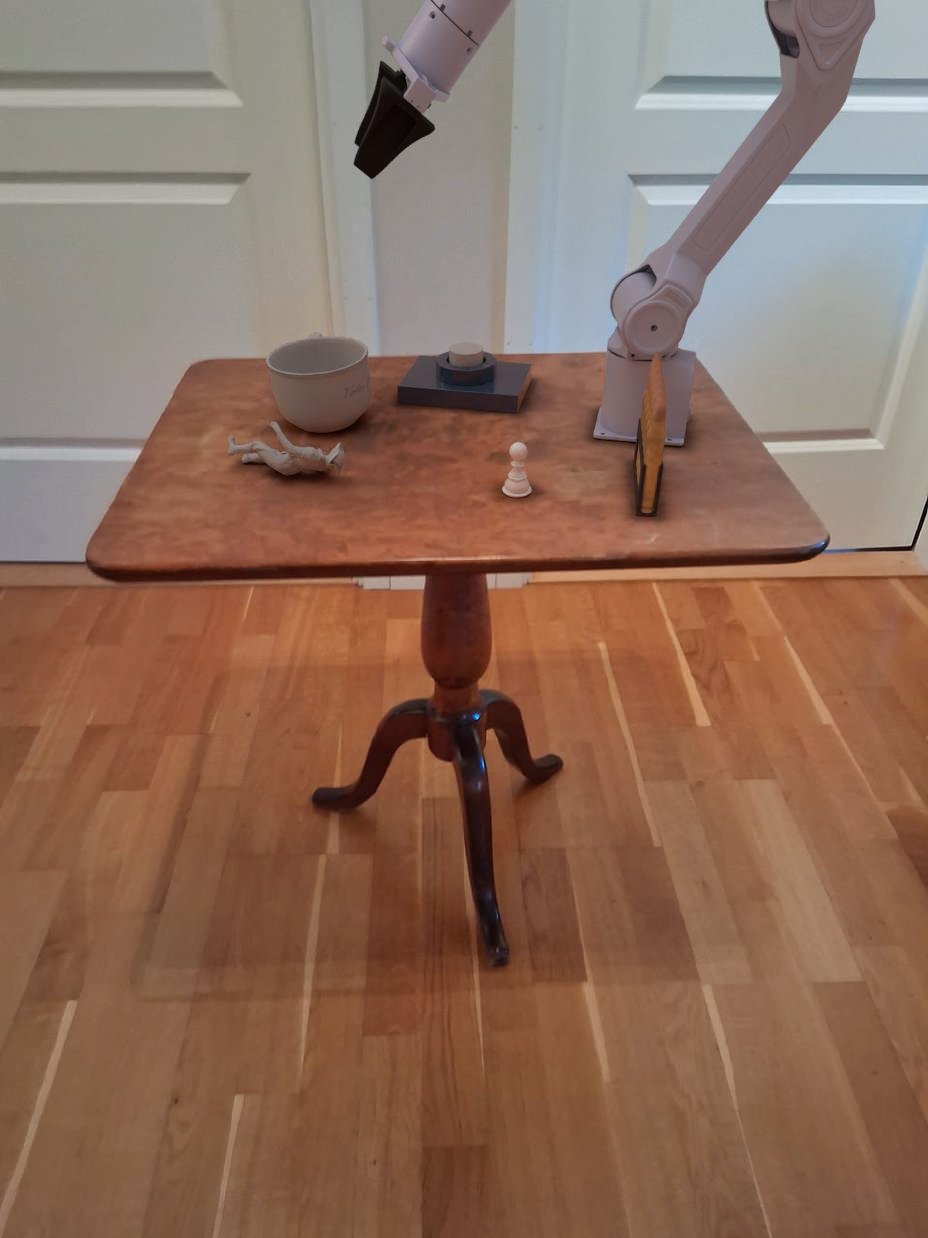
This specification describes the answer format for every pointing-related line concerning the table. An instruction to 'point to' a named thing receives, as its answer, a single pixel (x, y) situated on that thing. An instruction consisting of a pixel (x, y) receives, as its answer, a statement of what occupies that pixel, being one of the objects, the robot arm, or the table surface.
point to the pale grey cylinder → (466, 354)
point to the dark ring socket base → (466, 384)
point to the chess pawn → (517, 473)
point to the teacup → (320, 381)
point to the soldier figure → (288, 455)
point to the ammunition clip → (650, 442)
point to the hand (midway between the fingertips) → (362, 159)
